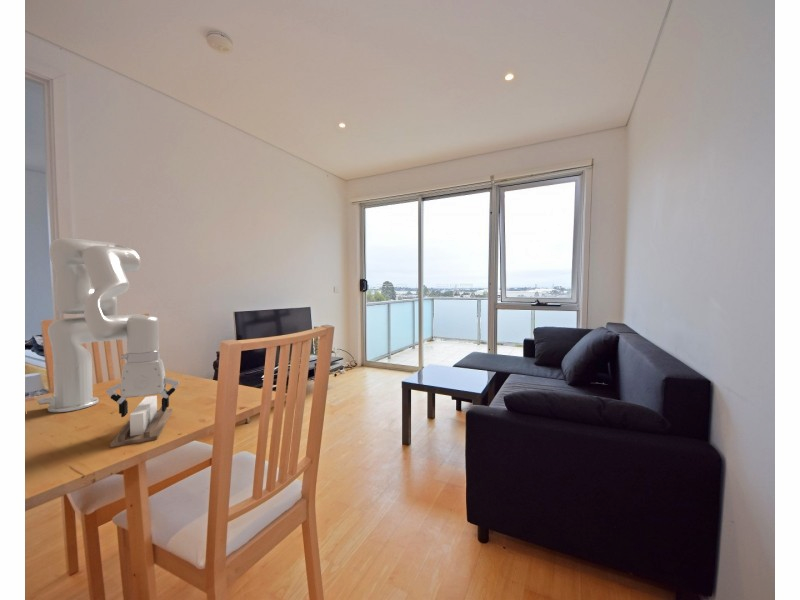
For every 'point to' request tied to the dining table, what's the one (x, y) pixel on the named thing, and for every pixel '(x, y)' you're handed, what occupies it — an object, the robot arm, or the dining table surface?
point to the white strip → (143, 415)
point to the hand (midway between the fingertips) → (144, 412)
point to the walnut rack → (149, 434)
